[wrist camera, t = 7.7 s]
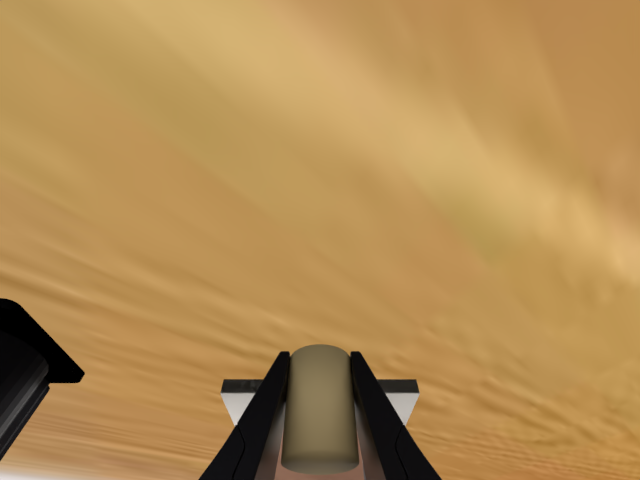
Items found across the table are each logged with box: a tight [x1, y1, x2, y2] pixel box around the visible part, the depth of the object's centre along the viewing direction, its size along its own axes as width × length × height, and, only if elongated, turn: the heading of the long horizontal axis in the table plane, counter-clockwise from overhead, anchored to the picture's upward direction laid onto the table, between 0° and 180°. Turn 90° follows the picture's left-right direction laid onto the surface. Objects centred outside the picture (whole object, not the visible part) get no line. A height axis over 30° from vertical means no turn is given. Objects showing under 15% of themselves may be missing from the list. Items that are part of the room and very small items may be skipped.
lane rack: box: [220, 379, 420, 480], centre depth 24 cm, size 25×11×3 cm, turn 0°
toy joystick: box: [274, 344, 364, 480], centre depth 16 cm, size 17×6×4 cm, turn 178°
